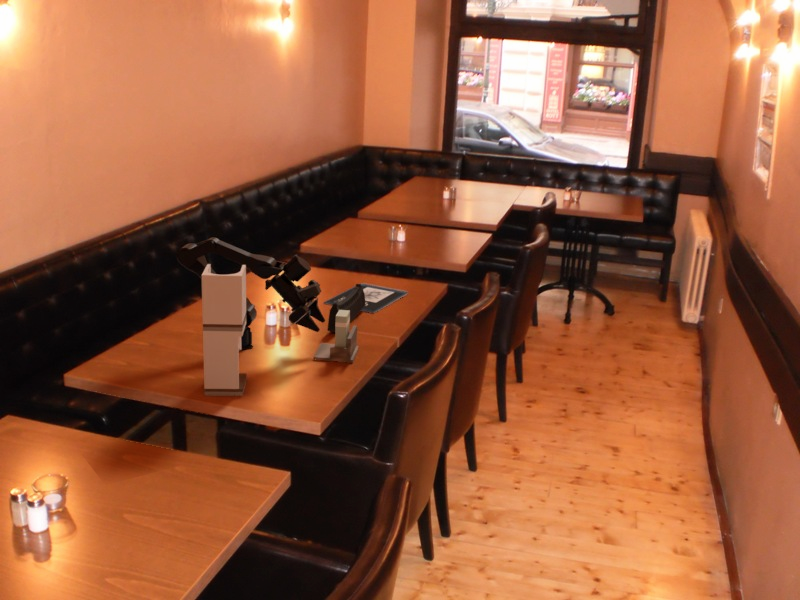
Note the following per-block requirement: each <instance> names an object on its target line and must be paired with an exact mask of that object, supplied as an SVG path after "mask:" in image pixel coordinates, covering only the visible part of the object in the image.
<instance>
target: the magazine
mask: <svg viewBox="0 0 800 600" xmlns="http://www.w3.org/2000/svg"><path fill="white" fill-rule="evenodd" d="M361 284H362V283H356V284H355V286H354V287H355V288H354V289H353V291H352V292H351V293H350V294H349V295H348V296H347V297H346V298H345V299H343V300H342V301H340V302H339V303H334V304H332V305H331V308H329V313H328V314H329V315H328V322H327V323H328V324H327V331H328V332H331V333H335V322H336V314H337V313H338V311H339V310H350V322H351V323H352V322H353V321H354V320H355V319H356V317H357V316H358V315H359V314H360V312H362V311H361V309H362V308H363V306H364V305H365V294H364V291H363V289H362V287H361Z"/></svg>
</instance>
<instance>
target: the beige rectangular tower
mask: <svg viewBox="0 0 800 600" xmlns="http://www.w3.org/2000/svg"><path fill="white" fill-rule="evenodd" d="M211 265H212V264H211V263H208V264H207V266H206V268H205V270H204V272H203V273H202V279H201V300H202V301H201V304H202V305H201V308H202V337H203V338H202V344H203V345H202V346H203V347H202V348H203V381H204V382H203V384H204V385H203V387H204V391H203V392H204V396H219V397H220V396H222V397H223V396H225V397H227V396H231V397H233V396H234V395H235V396H236V397H243V396H244V394H243V393H245V390H244V389H246V385H247V381H248V376H247V375H248V374H247V373H240V363H239V362H240V360H239V359H240V355H239V353H240V352H241V351H242V350H241V336H243V332H244V329H245V326H246V297H247V267H246V265H241V268H240V271H238V272H236V273H229V274H228V273H227V274H218V273H216V274H212V273H211V268H212V267H211ZM235 396H234V397H235Z"/></svg>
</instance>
